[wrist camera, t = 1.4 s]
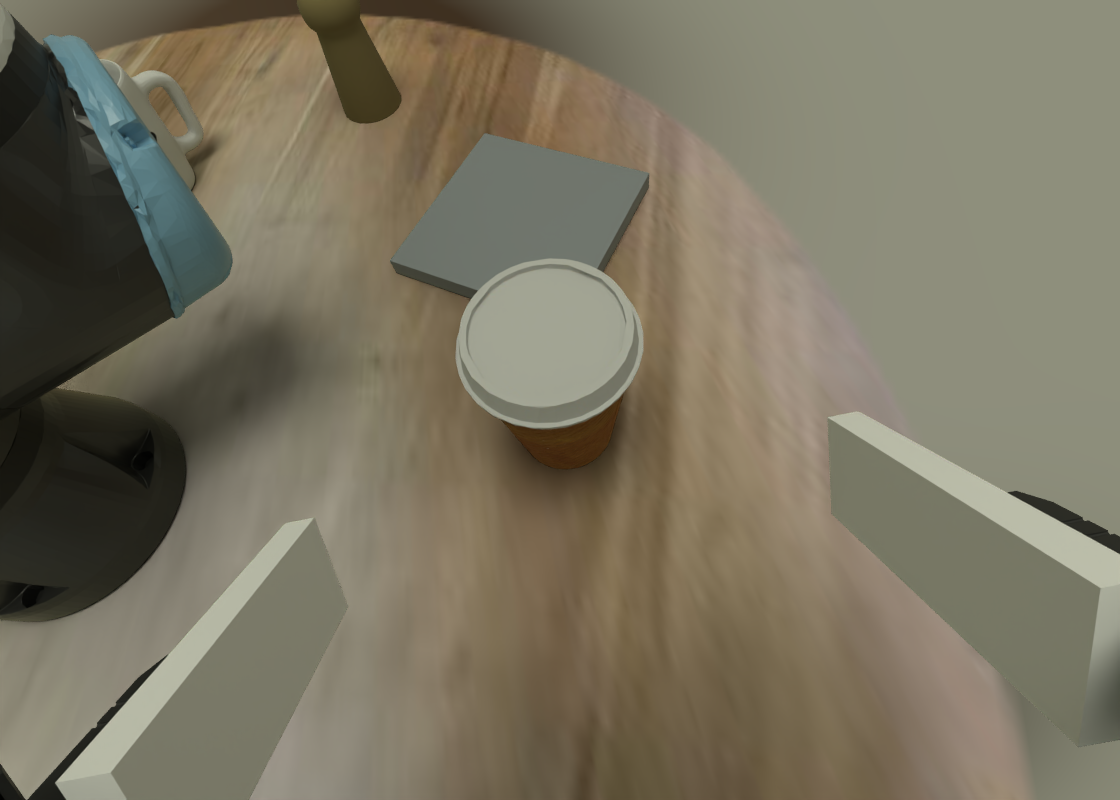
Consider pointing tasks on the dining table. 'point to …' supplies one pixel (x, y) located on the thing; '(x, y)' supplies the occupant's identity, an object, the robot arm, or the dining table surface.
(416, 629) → the dining table surface
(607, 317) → the disposable coffee cup
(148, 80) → the mug
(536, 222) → the slate board
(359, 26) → the olive pawn
